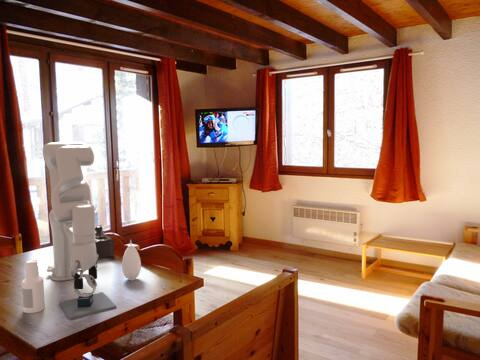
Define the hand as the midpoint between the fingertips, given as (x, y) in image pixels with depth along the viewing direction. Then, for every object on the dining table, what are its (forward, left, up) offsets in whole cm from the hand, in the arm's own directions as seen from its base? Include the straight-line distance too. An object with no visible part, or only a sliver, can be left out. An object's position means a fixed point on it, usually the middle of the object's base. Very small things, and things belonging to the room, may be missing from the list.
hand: (86, 283), depth 144 cm
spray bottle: (-17, -6, -9) cm, 20 cm away
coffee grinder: (-24, +57, -9) cm, 62 cm away
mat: (0, 0, -8) cm, 8 cm away
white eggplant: (+5, +28, -9) cm, 29 cm away
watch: (0, -1, -8) cm, 8 cm away
